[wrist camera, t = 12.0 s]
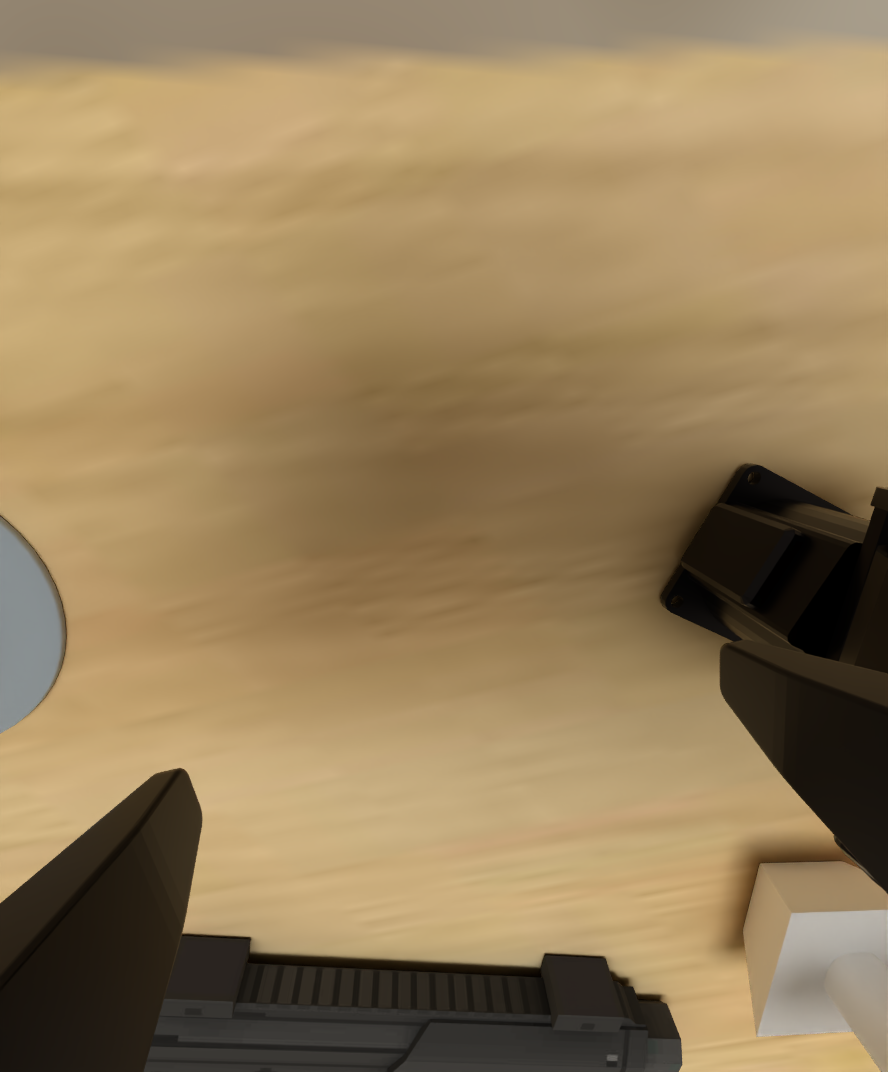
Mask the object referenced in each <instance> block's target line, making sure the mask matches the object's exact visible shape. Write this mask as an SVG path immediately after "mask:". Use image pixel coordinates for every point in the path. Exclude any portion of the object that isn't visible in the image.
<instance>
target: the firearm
mask: <svg viewBox="0 0 888 1072" xmlns="http://www.w3.org/2000/svg"><path fill="white" fill-rule="evenodd" d="M249 950H250V940H249V939H230V938H211V937H192V936H181V939H180V943H179V947H178V951H177V954H176V958H175V962H174V965H173V969H172V972H171V976H170V979H169V983H168V987H167V990H166V994H165V997H164V1001H163V1004H162V1008H161V1012H160V1015H159V1019H158V1022H157V1026H156V1029H155V1033H154V1036H153V1040H152V1044H151V1047H150V1051H149V1054H148V1058H147V1061H146V1065H145V1069H144V1072H679V1070H680V1068H681V1066H682V1049H681V1038H680V1036H679V1033H678V1031H677V1028H676V1026H675V1023H674V1020H673V1018H672V1015H671V1013H670V1010H669V1008H668V1005H667V1004H666V1003H663V1002H661V1001H649V1000H638V999H637V996H636V993H635V991H634V988H633V987H632V986H622V985H621V984H620V983H619V982H618V981H613V980H612V977H611V974H610V971H609V968H608V965H607V962H606V959H605V958H587V957H568V956H549V955H545V957H544V960H543V963H542V966H541V969H540V972H541V976H542V978H540V977H519V976H499V975H478V974H457V973H437V972H416V971H395V970H374V969H354V968H333V967H312V966H292V965H271V964H250V963H247V961H248V958H249Z"/></svg>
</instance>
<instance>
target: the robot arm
mask: <svg viewBox="0 0 888 1072" xmlns="http://www.w3.org/2000/svg"><path fill="white" fill-rule="evenodd" d="M752 472H753V473H754V478H753V480H752V481H751V482H748V476H749V475H750V474H751V473H752ZM871 506H874V507H875V508H874V511H873V514H872V517H871V520H866V519H863V518H859V517H855V516H853V515H851V514H849V513H847V512H845V511H844V510H842V509H840V508H838V507H836V506H834V505H833V504H831V503H829V502H827V501H825V500H823V499H821V498H820V497H818V496H816V495H814V494H812V493H810V492H809V491H807V490H805V489H803V488H801V487H799V486H797V485H796V484H794V483H792V482H790V481H788V480H786V479H785V478H783V477H781V476H779V475H777V474H775V473H773V472H772V471H770V470H768V469H766V468H764V467H762V466H759V465H755V464H745V465H743V466H742V467H740V469H739V470H738V471H737V472H736V474H735V476H734V477H733V479H732V481H731V482H730V484H729V485H728V487H727V489H726V490H725V492H724V494H723V495H722V497H721V498H720V500H719V502H718V503H717V505H715V506H714V507H713V508H712V510H711V511H710V513H709V515H708V516H707V518H706V519H705V521H704V523H703V524H702V526H701V528H700V529H699V531H698V533H697V534H696V536H695V537H694V539H693V541H692V542H691V544H690V546H689V547H688V549H687V550H686V552H685V554H684V555H683V557H682V559H681V561H682V562H681V564H680V565H679V567H678V568H677V570H676V572H675V573H674V575H673V577H672V578H671V580H670V581H669V583H668V585H667V586H666V588H665V590H664V591H663V593H662V595H661V604H662V606H663V607H665V608H666V609H667V610H668V611H670V612H671V613H673V614H675V615H678V616H680V617H682V618H684V619H686V620H688V621H691V622H693V623H695V624H697V625H699V626H701V627H704V628H706V629H708V630H710V631H712V632H715V633H717V634H719V635H721V636H723V637H725V638H728V639H730V640H732V641H734V642H731V643H726V644H724V645H723V646H722V647H721V650H720V689H721V693H722V695H723V697H724V699H725V701H726V702H727V704H728V705H729V706H730V708H731V709H732V710H733V712H734V713H735V714H736V716H737V717H738V718H739V720H740V721H741V722H742V724H743V725H744V726H745V728H746V729H747V730H748V732H749V733H750V734H751V736H752V737H753V738H754V740H755V741H756V742H757V744H758V745H759V746H760V748H761V749H762V751H763V752H764V753H765V755H766V756H767V757H768V759H769V760H770V761H771V763H772V764H773V765H774V766H775V768H776V769H777V770H778V771H779V773H780V774H781V775H782V777H783V778H784V779H785V780H786V781H787V782H788V784H789V785H790V786H791V787H792V788H793V789H794V791H795V792H796V793H797V794H798V795H799V796H800V797H801V798H802V799H803V801H804V802H805V803H806V804H807V805H808V806H809V807H810V808H811V809H812V811H813V812H814V813H815V814H816V815H817V816H818V817H819V818H820V819H821V821H822V822H823V823H824V824H825V825H826V826H827V827H828V828H829V829H830V831H831V832H832V833H833V834H834V840H835V842H836V843H837V845H838V846H839V847H840V849H841V850H842V851H843V853H844V854H845V855H846V856H848V857H849V858H850V859H851V860H852V861H853V862H855V863H856V864H857V865H858V866H859V867H860V868H861V869H862V870H863V871H864V872H865V873H866V874H867V875H868V876H869V877H870V879H871V880H873V881H874V882H875V883H876V884H877V885H879V886H880V887H881V888H882V889H883V890H884V891H885V892H886V893H887V894H888V488H884V487H876V490H875V493H874V496H873V499H872V502H871ZM675 596H678V597H679V598H678V600H677V601H676V602H675V603H673V604H671V601H672V599H673V598H674V597H675ZM201 828H202V811H201V807H200V804H199V802H198V799H197V796H196V794H195V791H194V788H193V786H192V783H191V780H190V778H189V775H188V773H187V772H186V771H185V770H184V769H181V768H177V769H173V770H169V771H164V772H160V773H157V774H154V775H153V776H152V777H150V778H149V779H148V780H147V781H146V782H144V783H143V784H142V785H141V786H140V787H139V788H137V789H136V790H135V791H134V792H133V793H131V794H130V795H129V796H128V797H127V798H125V799H124V800H123V801H122V802H121V803H119V804H118V805H117V806H116V807H115V808H114V809H112V810H111V811H110V812H109V813H108V814H106V815H105V816H104V817H103V818H102V819H100V820H99V821H98V822H97V823H96V824H94V825H93V826H92V827H91V828H90V829H88V830H87V831H86V832H85V833H84V834H83V835H81V836H80V837H79V838H78V839H77V840H75V841H74V842H73V843H72V844H71V845H69V846H68V847H67V848H66V849H65V850H63V851H62V852H61V853H60V854H59V855H57V856H56V857H55V858H54V859H53V860H52V861H50V862H49V863H48V864H47V865H46V866H44V867H43V868H42V869H41V870H40V871H38V872H37V873H36V874H35V875H34V876H32V877H31V878H30V879H29V880H28V881H26V882H25V883H24V884H23V885H22V886H21V887H19V888H18V889H17V890H16V891H15V892H13V893H12V894H11V895H10V896H9V897H7V898H6V899H5V900H4V901H3V902H1V903H0V1072H144V1069H145V1065H146V1061H147V1058H148V1054H149V1051H150V1047H151V1044H152V1040H153V1036H154V1033H155V1029H156V1026H157V1022H158V1019H159V1015H160V1012H161V1008H162V1004H163V1001H164V997H165V994H166V990H167V987H168V983H169V979H170V976H171V972H172V969H173V965H174V962H175V958H176V954H177V951H178V947H179V943H180V939H181V936H182V932H183V927H184V922H185V917H186V913H187V907H188V901H189V896H190V890H191V884H192V879H193V873H194V867H195V862H196V856H197V851H198V845H199V839H200V834H201Z"/></svg>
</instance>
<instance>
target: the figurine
mask: <svg viewBox="0 0 888 1072" xmlns="http://www.w3.org/2000/svg"><path fill="white" fill-rule="evenodd" d="M743 936H744V944H745V952H746V960H747V968H748V975H749V983H750V991H751V999H752V1006H753V1014H754V1022H755V1030H756V1037H763V1036H781V1035H800V1034H818V1033H837V1032H854V1033H855V1035H856V1036H857V1038H858V1039H859V1041H860V1042H861V1043H862V1045H863V1046H864V1048H865V1049H866V1051H867V1052H868V1053H869V1055H870V1056H871V1058H872V1059H873V1061H874V1062H875V1063H876V1065H877V1066H878V1068H879V1069H880V1071H881V1072H888V894H887V893H886V892H885V891H884V890H883V889H882V888H881V887H880V886H879V885H877V884H876V883H875V882H874V881H873V880H871V879H870V877H869V876H868V875H867V874H866V873H865V872H864V871H863V870H862V869H860V868H857V867H855V866H852V865H850V864H848V863H845V862H843V861H830V862H792V863H760V865H759V869H758V873H757V877H756V881H755V885H754V889H753V892H752V896H751V900H750V904H749V908H748V912H747V916H746V920H745V924H744V928H743Z"/></svg>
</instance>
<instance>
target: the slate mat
mask: <svg viewBox="0 0 888 1072" xmlns="http://www.w3.org/2000/svg"><path fill="white" fill-rule="evenodd" d="M65 644H66V626H65V617H64V612H63V608H62V603H61V600H60V597H59V594H58V592H57V589H56V586H55V584H54V582H53V580H52V578H51V576H50V574H49V572H48V570H47V568H46V567H45V565H44V564H43V562H42V561H41V559H40V558H39V556H38V555H37V553H36V552H35V551H34V549H33V548H32V547H31V546H30V545H29V544H28V542H27V541H26V540H25V539H24V538H23V537H22V536H21V534H20V533H19V532H18V531H16V530H15V529H14V528H13V527H12V526H11V525H10V524H9V523H8V522H7V521H6V520H4V519H3V518H2V517H1V516H0V733H2V732H4V731H5V730H7V729H9V728H10V727H12V726H14V725H15V724H17V723H18V722H19V721H20V720H22V719H23V718H24V717H25V716H27V715H28V714H29V713H30V712H31V711H32V710H34V709H35V708H36V707H37V706H38V705H39V703H40V702H41V701H42V700H43V699H44V698H45V697H46V695H47V694H48V692H49V691H50V689H51V688H52V686H53V685H54V683H55V681H56V678H57V676H58V674H59V672H60V669H61V666H62V662H63V658H64V654H65Z"/></svg>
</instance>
